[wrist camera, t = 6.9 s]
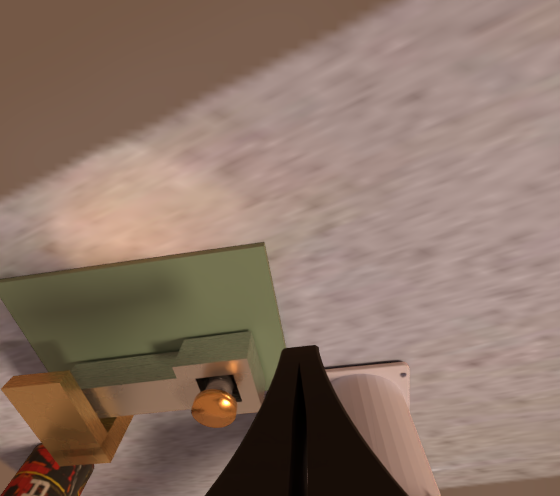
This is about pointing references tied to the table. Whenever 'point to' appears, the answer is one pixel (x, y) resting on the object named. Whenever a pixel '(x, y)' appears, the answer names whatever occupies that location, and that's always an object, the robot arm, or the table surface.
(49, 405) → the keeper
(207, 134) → the table surface
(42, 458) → the deodorant
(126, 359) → the beige rectangular block
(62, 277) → the plate
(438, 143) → the table surface
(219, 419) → the orange round knob
